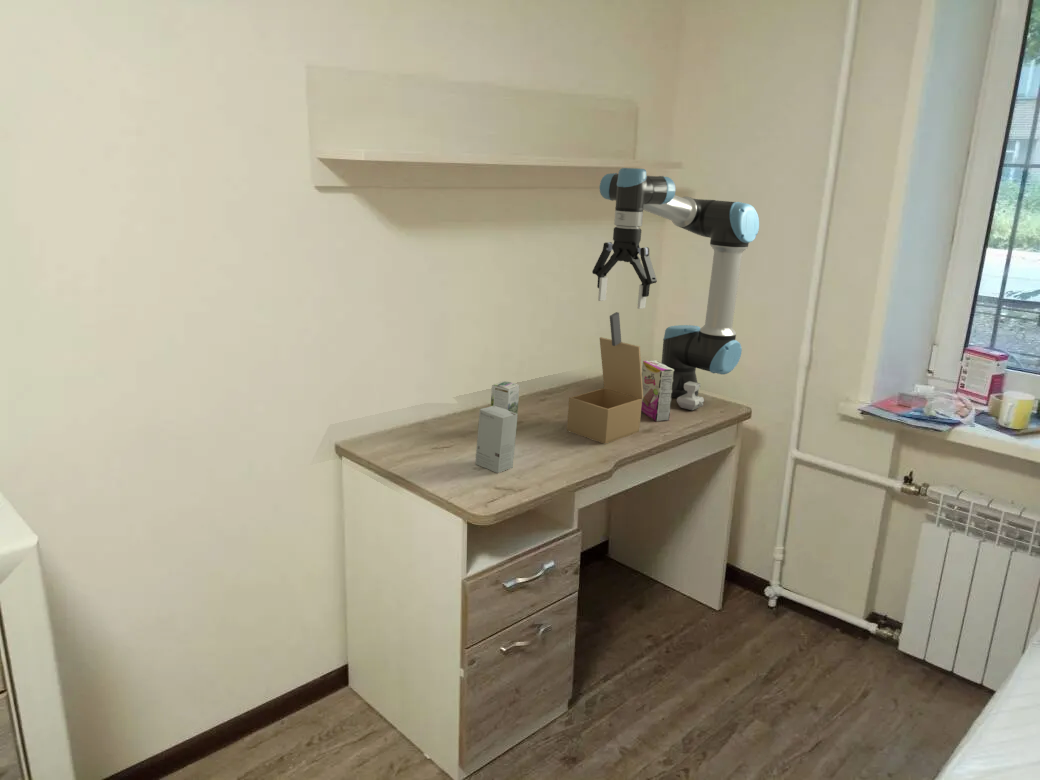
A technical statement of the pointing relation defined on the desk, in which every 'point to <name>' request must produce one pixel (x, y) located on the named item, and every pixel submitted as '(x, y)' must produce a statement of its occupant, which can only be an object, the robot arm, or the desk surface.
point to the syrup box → (505, 396)
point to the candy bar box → (657, 390)
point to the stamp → (690, 397)
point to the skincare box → (496, 438)
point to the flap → (621, 362)
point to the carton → (604, 415)
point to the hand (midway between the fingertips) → (621, 304)
